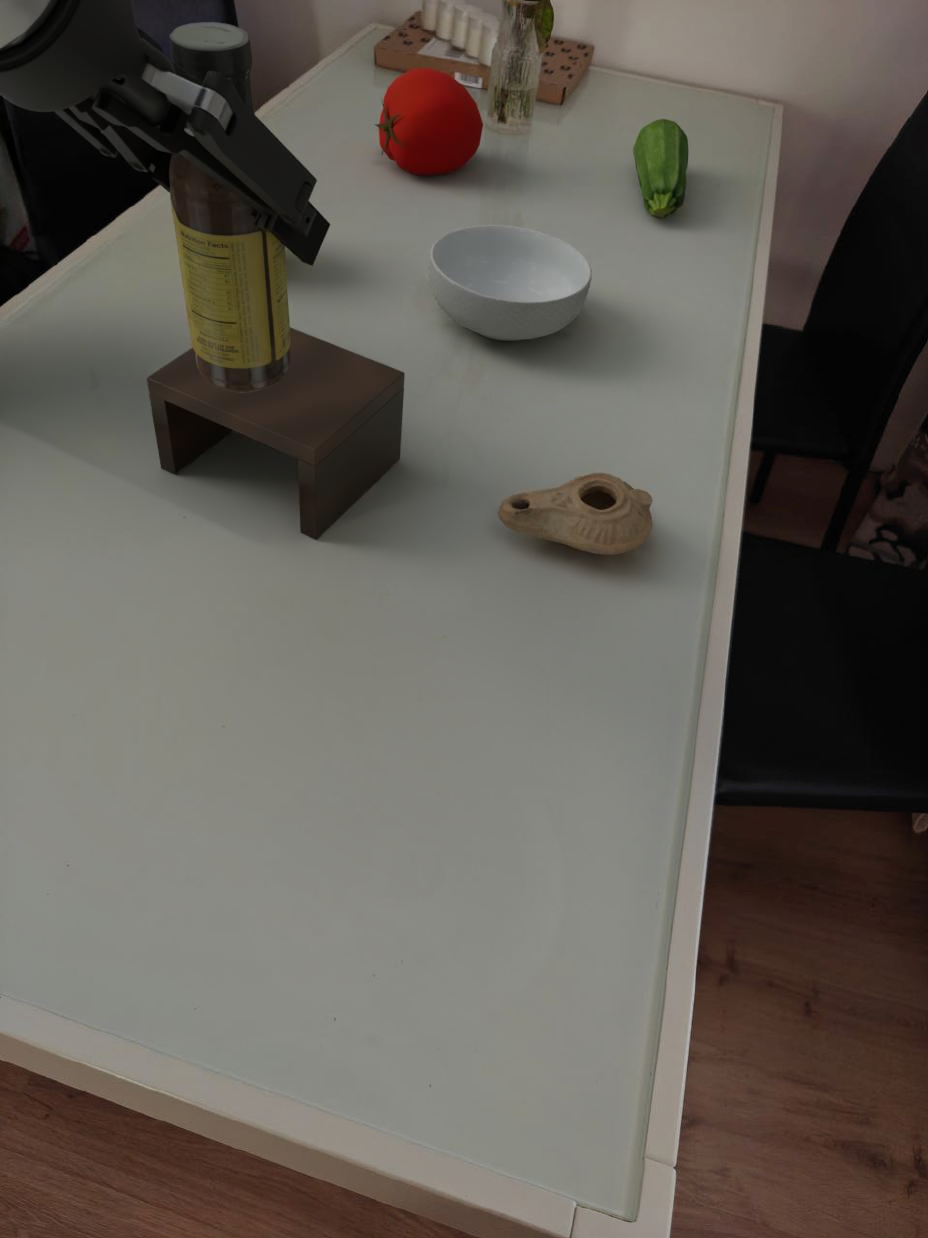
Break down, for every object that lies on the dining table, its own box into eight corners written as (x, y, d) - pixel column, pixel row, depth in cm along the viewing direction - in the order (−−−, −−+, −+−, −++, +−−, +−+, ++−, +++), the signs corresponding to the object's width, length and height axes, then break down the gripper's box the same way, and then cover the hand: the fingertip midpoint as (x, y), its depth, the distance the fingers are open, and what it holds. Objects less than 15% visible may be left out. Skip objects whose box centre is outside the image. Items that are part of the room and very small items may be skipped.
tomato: (460, 176, 138) (375, 192, 133) (439, 77, 134) (350, 89, 129) (506, 155, 127) (415, 172, 122) (484, 46, 123) (390, 58, 118)
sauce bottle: (251, 332, 68) (230, 3, 53) (311, 374, 65) (305, 40, 51) (171, 364, 64) (125, 22, 50) (230, 409, 62) (200, 62, 47)
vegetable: (681, 102, 133) (687, 164, 120) (692, 154, 138) (699, 219, 124) (627, 121, 136) (627, 183, 122) (640, 172, 140) (642, 237, 127)
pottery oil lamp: (486, 501, 85) (522, 427, 82) (608, 551, 88) (647, 481, 85) (498, 539, 77) (539, 459, 74) (631, 593, 80) (675, 517, 78)
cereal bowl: (611, 345, 105) (625, 283, 100) (477, 380, 98) (485, 315, 93) (524, 271, 115) (533, 211, 109) (397, 298, 108) (400, 235, 103)
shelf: (160, 468, 85) (146, 377, 78) (254, 397, 93) (248, 309, 86) (316, 540, 80) (314, 450, 74) (400, 459, 88) (405, 372, 82)
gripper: (232, -67, 36) (428, 215, 58) (-141, -171, 41) (170, 124, 63) (152, 128, 36) (377, 334, 59) (-207, 1, 42) (124, 234, 64)
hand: (269, 225), depth 61 cm, fingers closed on sauce bottle, 6 cm apart
